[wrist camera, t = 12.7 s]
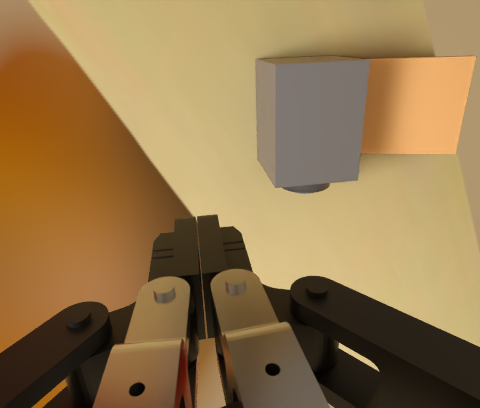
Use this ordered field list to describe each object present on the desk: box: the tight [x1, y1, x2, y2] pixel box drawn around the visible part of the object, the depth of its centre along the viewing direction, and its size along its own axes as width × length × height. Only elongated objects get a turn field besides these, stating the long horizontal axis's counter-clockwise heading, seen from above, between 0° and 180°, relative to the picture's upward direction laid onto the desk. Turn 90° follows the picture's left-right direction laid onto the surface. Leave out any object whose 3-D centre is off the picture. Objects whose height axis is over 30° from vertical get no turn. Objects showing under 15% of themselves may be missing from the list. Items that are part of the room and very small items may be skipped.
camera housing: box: [256, 55, 370, 194], centre depth 41 cm, size 14×9×10 cm, turn 2°
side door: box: [361, 56, 476, 154], centre depth 44 cm, size 11×2×15 cm
